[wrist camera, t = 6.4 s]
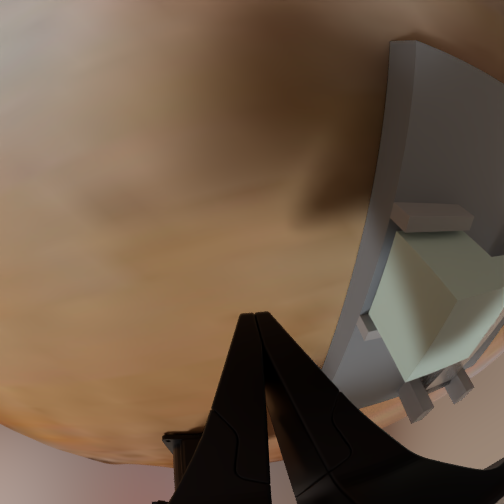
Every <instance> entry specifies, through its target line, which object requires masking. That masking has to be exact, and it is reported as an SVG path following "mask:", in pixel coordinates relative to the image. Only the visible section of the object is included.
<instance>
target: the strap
mask: <svg viewBox="0 0 504 504" xmlns="http://www.w3.org/2000/svg"><path fill="white" fill-rule="evenodd" d="M503 317H504V308H503V310H502V311H501V313H500V314H499V316H498V318H497V319H496V321H495V322H494V324H493V325H491V327H490V328H489V330H488V331H487V333H486V334H485V335H484V337H483V338H482V340H481V341H480V343H479V344H478V345H477V347H476V348H475V349H474V351H473V352H472V353H471V355H470V356H469V357H468V358H466V359H464V360H462V361H460V362H457V363H455V364H453V365H450V366H448V367H445V368H443V369H440V370H438V371H435V372H433V373H430V374H427V375H426V376H425V378H424V379H423V380H422V381H421V382H422V384H423V386H424V388H425V390H426V392H427V394H429V393H431V392H433V391H436V390H438V389H440V388H443V387H445V386H447V385H449V384H450V382H451V379H452V378H453V377H454V376H455V375H456V374H457V373H458V372H459V371H460V369H461V368H462V367H463V366H464V365H465V364H466V363H467V362H468V361H469V360H470V358H471V357H472V356H473V355H474V354H475V353H476V351H477V350H478V349H479V348H480V347H481V345H482V344H483V343H484V342H485V341H486V339H487V338H488V337H489V335H490V334H491V333H492V332H493V330H494V329H495V328H496V326H497V325H498V324H499V322H500V321H501V320H502V318H503Z"/></svg>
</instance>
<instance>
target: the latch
mask: <svg viewBox="0 0 504 504" xmlns="http://www.w3.org/2000/svg"><path fill="white" fill-rule="evenodd" d="M503 308H504V255H501V256H495V257H491V256H490V255H489V254H488V253H487V252H486V251H485V250H484V249H483V248H481V247H480V246H479V245H478V244H477V243H476V242H475V241H474V240H473V239H472V238H471V237H469V236H468V235H467V234H466V233H465V232H464V231H438V232H413V233H405V232H404V231H396V234H395V237H394V241H393V244H392V247H391V251H390V254H389V257H388V260H387V263H386V266H385V269H384V272H383V275H382V278H381V281H380V284H379V287H378V289H377V292H376V295H375V298H374V300H373V303H372V306H371V308H370V311H369V316H370V317H371V319H372V321H373V323H374V324H375V326H376V328H377V330H378V332H379V334H380V335H381V337H382V339H383V341H384V343H385V345H386V347H387V348H388V350H389V352H390V354H391V356H392V358H393V360H394V362H395V364H396V366H397V368H398V370H399V372H400V373H401V375H402V377H403V379H404V381H405V382H408V381H411V380H414V379H417V378H419V377H422V376H425V375H427V374H430V373H433V372H435V371H438V370H440V369H443V368H445V367H448V366H450V365H453V364H455V363H457V362H460V361H462V360H464V359H466V358H468V357H469V356H470V355H471V353H472V352H473V351H474V349H475V348H476V347H477V345H478V344H479V343H480V341H481V340H482V338H483V337H484V335H485V334H486V333H487V331H488V330H489V328H490V327H491V325H493V324H494V322H495V321H496V319H497V318H498V316H499V314H500V313H501V311H502V310H503Z"/></svg>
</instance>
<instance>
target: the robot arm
mask: <svg viewBox="0 0 504 504" xmlns="http://www.w3.org/2000/svg"><path fill="white" fill-rule="evenodd" d="M266 403H267V407H268V410H269V414H270V417H271V420H272V424H273V427H274V430H275V434H276V437H277V440H278V444H279V447H280V450H281V454H282V457H283V460H284V463H285V466H286V470H287V473H288V476H289V479H290V482H291V486H292V489H293V492H294V494H295V497H296V501H297V504H504V458H502V459H501V460H499V461H497V462H496V463H494V464H492V465H491V466H489V467H487V468H485V469H484V470H481V469H473V468H467V467H463V466H458V465H453V464H448V463H444V462H440V461H436V460H432V459H428V458H424V457H422V456H419V455H417V454H415V453H413V452H411V451H410V450H408V449H407V448H405V447H404V446H403V445H401V444H400V443H399V442H398V441H396V440H395V439H394V438H392V437H391V436H390V435H389V434H387V433H386V432H385V431H384V430H382V429H381V428H380V427H379V426H377V425H376V424H375V423H374V422H372V421H371V420H370V419H369V418H368V417H367V416H365V415H364V414H363V413H362V412H361V411H360V410H359V409H358V408H357V407H356V406H355V405H354V404H353V403H352V402H351V401H350V400H349V399H348V398H347V397H346V396H345V395H344V394H343V393H342V392H341V391H340V392H339V389H338V387H337V386H336V385H335V384H334V383H333V382H332V381H331V380H330V379H329V378H328V377H327V376H326V375H325V373H324V372H323V371H322V370H321V369H320V368H319V367H318V366H317V365H316V364H315V363H314V361H313V360H312V359H311V358H310V357H309V356H308V355H307V354H306V353H305V352H304V350H303V349H302V348H301V347H300V346H299V345H298V344H297V343H296V342H295V341H294V339H293V338H292V337H291V336H290V335H289V334H288V333H287V332H286V331H285V329H284V328H283V327H282V326H281V325H280V324H279V323H278V322H277V320H276V319H275V318H274V317H273V316H272V315H271V314H270V313H269V312H267V311H266V312H256V313H255V314H254V313H243V314H240V316H239V319H238V322H237V325H236V329H235V332H234V335H233V339H232V342H231V345H230V348H229V352H228V355H227V358H226V362H225V365H224V368H223V371H222V375H221V378H220V381H219V384H218V388H217V391H216V394H215V397H214V401H213V404H212V407H211V409H212V410H210V413H209V416H208V419H207V423H206V425H205V428H204V431H203V434H202V435H164V436H162V441H163V442H164V444H165V445H166V446H167V448H168V449H169V450H170V451H171V453H172V454H173V464H174V483H175V492H174V494H173V496H172V497H171V499H170V501H169V502H165V501H160V500H158V502H152V504H272V500H271V486H270V466H269V447H268V429H267V410H266Z"/></svg>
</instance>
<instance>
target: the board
mask: <svg viewBox="0 0 504 504" xmlns="http://www.w3.org/2000/svg"><path fill="white" fill-rule="evenodd" d="M396 231H404V232H405V233H413V232H438V231H464V232H465V233H466V234H467V235H468V236H469V237H471V238H472V239H473V240H474V241H475V242H476V243H477V244H478V245H479V246H480V247H481V248H483V249H484V250H485V251H486V252H487V253H488V254H489V255H490V256H491V257H495V256H501V255H504V84H503V83H502V82H500V81H498V80H497V79H495V78H493V77H492V76H490V75H488V74H487V73H485V72H483V71H481V70H479V69H478V68H476V67H474V66H472V65H470V64H468V63H466V62H464V61H462V60H460V59H458V58H456V57H454V56H452V55H450V54H448V53H445V52H443V51H441V50H439V49H436V48H434V47H432V46H429V45H427V44H424V43H422V42H419V41H417V40H406V41H390V53H389V70H388V82H387V93H386V103H385V112H384V120H383V128H382V135H381V142H380V148H379V155H378V161H377V167H376V172H375V178H374V183H373V189H372V194H371V199H370V204H369V208H368V213H367V217H366V222H365V226H364V231H363V235H362V239H361V243H360V247H359V251H358V255H357V259H356V263H355V267H354V270H353V274H352V278H351V281H350V285H349V288H348V292H347V295H346V298H345V302H344V305H343V308H342V312H341V315H340V318H339V321H338V324H337V327H336V330H335V333H334V336H333V339H332V342H331V345H330V348H329V351H328V354H327V356H326V359H325V362H324V365H323V367H322V371H323V372H324V373H325V375H326V376H327V377H328V378H329V379H330V380H331V381H332V382H333V383H334V384H335V385H336V386H337V387H338V389H339V392H340V391H341V392H342V393H343V394H344V395H345V396H346V397H347V398H348V399H349V400H350V401H351V402H352V403H353V404H354V405H355V406H356V407H357V408H358V409H360V408H363V407H367V406H370V405H373V404H377V403H380V402H383V401H386V400H389V399H393V398H395V397H398V396H399V397H400V400H401V402H402V404H403V406H404V408H405V411H406V413H407V415H408V417H409V419H410V422H411V424H412V423H414V422H417V421H419V420H421V419H423V418H424V417H425V416H426V415H427V414H428V413H429V412H430V411H431V410H432V409H433V408H434V406H433V404H432V402H431V400H430V398H429V396H428V394H427V392H426V390H425V388H424V386H423V384H422V382H421V381H422V380H423V379H424V378H425V376H426V375H425V376H422V377H419V378H417V379H414V380H411V381H408V382H405V381H404V379H403V377H402V375H401V373H400V372H399V370H398V368H397V366H396V364H395V362H394V360H393V358H392V356H391V354H390V352H389V350H388V348H387V347H386V345H385V343H384V341H383V339H382V337H381V335H380V334H379V332H378V330H377V328H376V326H375V324H374V323H373V321H372V319H371V317H370V316H369V311H370V308H371V306H372V303H373V300H374V298H375V295H376V292H377V289H378V287H379V284H380V281H381V278H382V275H383V272H384V269H385V266H386V263H387V260H388V257H389V254H390V251H391V247H392V244H393V241H394V237H395V234H396ZM503 325H504V317H503V318H502V320H501V321H500V322H499V324H498V325H497V326H496V328H495V329H494V330H493V332H492V333H491V334H490V335H489V337H488V338H487V339H486V341H485V342H484V343H483V344H482V345H481V347H480V348H479V349H478V350H477V351H476V353H475V354H474V355H473V356H472V357H471V358H470V360H469V361H468V362H467V363H466V364H465V365H464V366H463V367H462V368H461V369H460V371H459V372H458V373H457V374H456V375H455V376H454V377H453V378H452V379H451V382H450V384H449V385H447V386H445V388H446V390H447V392H448V394H449V396H450V398H451V399H452V402H453V403H454V404H455V403H457V402H459V401H461V400H462V399H463V398H464V397H465V396H466V395H467V394H468V393H469V392H470V391H471V390H472V389H473V388H474V386H473V384H472V382H471V381H470V379H469V377H468V375H467V374H466V372H465V369H467V368H469V367H471V366H473V365H474V364H475V363H476V361H477V360H478V359H479V358H480V356H481V355H482V354H483V353H484V351H485V350H486V349H487V347H488V346H489V345H490V343H491V342H492V340H493V339H494V338H495V336H496V335H497V333H498V332H499V331H500V329H501V328H502V326H503Z"/></svg>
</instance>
